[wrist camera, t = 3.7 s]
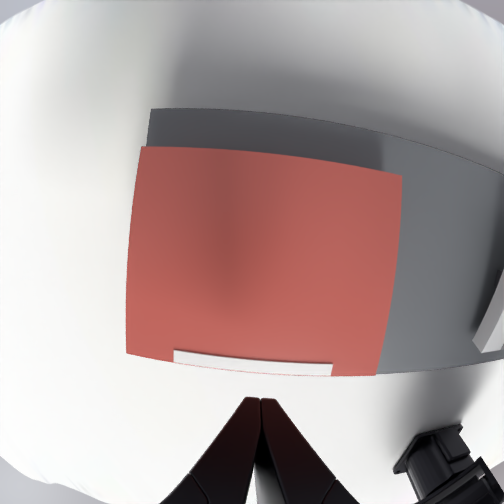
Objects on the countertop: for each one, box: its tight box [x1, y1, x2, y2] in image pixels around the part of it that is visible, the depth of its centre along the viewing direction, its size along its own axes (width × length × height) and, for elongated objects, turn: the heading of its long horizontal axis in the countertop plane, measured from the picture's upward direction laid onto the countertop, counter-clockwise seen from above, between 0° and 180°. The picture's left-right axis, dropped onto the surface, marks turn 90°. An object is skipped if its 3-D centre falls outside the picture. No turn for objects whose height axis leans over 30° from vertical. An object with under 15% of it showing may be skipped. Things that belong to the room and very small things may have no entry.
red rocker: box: [126, 147, 402, 376], centre depth 11 cm, size 8×10×1 cm
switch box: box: [146, 108, 504, 374], centre depth 14 cm, size 12×29×5 cm, turn 84°
